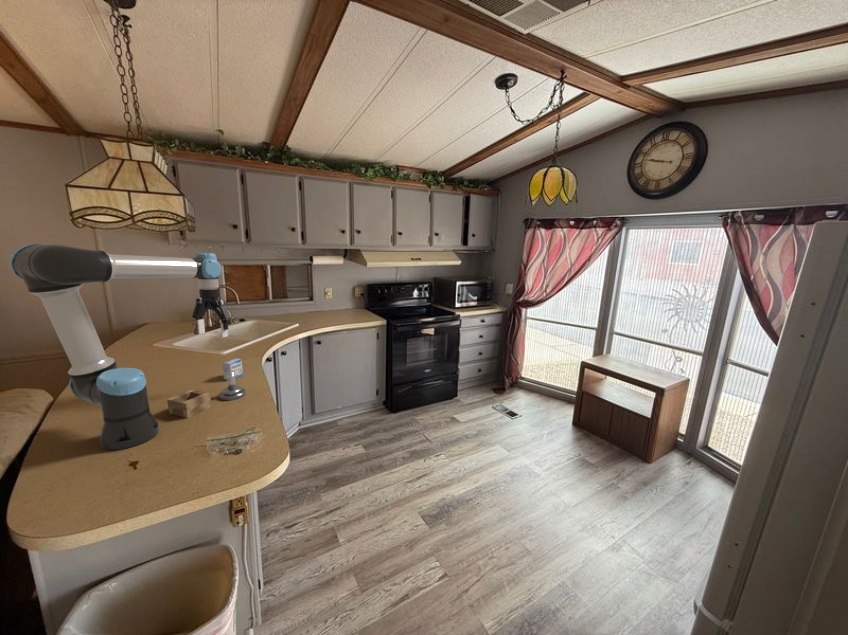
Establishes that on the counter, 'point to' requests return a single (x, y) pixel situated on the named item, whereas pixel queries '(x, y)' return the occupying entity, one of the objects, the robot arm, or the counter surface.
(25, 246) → the robot arm
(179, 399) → the light wood square frame
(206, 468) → the counter surface
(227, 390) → the post stand
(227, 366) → the medicine box
